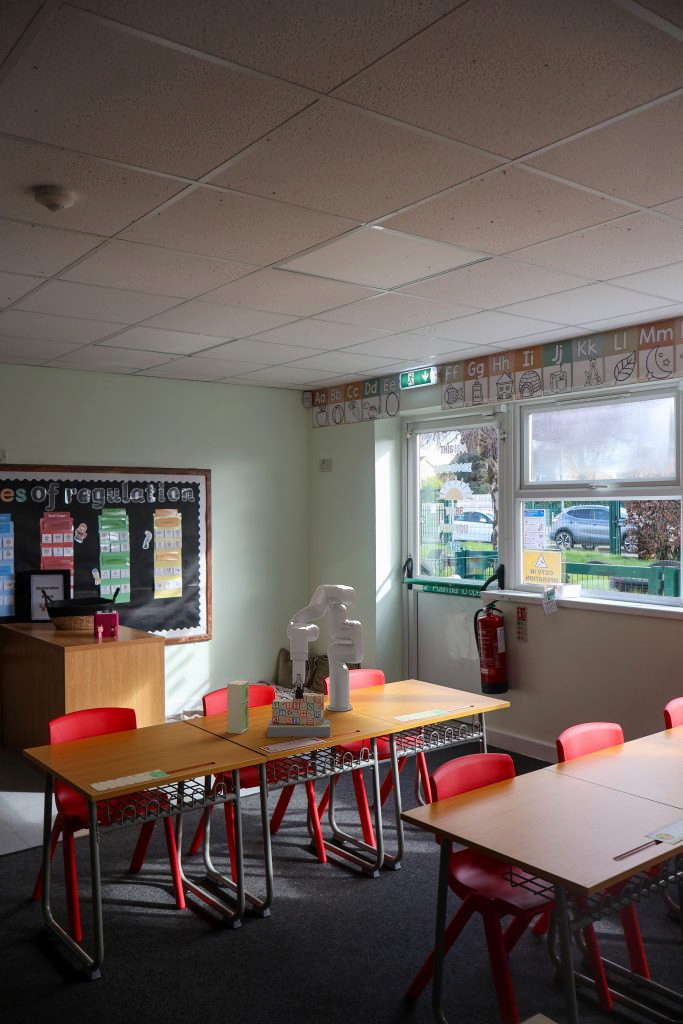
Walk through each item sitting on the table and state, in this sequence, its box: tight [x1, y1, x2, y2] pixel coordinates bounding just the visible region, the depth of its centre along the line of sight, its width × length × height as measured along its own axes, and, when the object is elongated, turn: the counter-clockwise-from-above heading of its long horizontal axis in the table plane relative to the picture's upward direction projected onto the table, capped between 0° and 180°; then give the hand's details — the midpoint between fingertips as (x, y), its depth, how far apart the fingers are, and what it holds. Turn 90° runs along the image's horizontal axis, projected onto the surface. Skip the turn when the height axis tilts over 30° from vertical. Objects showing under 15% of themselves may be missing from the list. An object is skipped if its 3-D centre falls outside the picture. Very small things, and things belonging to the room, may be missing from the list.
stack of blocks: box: [271, 692, 325, 725], centre depth 362 cm, size 21×6×12 cm, turn 79°
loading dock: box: [266, 719, 331, 738], centre depth 362 cm, size 12×26×4 cm, turn 90°
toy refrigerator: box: [226, 679, 250, 735], centre depth 365 cm, size 8×7×21 cm
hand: (299, 696), depth 363 cm, fingers open, 9 cm apart
